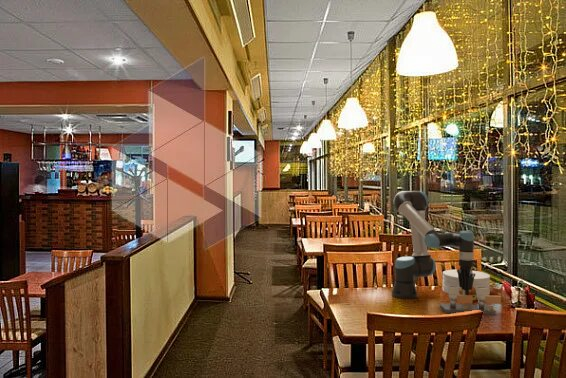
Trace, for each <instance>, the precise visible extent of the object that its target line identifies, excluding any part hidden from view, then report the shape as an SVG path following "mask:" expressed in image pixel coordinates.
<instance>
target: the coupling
mask: <svg viewBox="0 0 566 378" xmlns="http://www.w3.org/2000/svg"><path fill="white" fill-rule="evenodd" d="M448 293H449V294H448ZM448 293H447V294H448V300H450V299H451V300H456V304H473V302H474V301H473V296H472V295H457V294H458V287H457V286H448Z"/></svg>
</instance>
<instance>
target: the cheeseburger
mask: <svg viewBox="0 0 566 378" xmlns="http://www.w3.org/2000/svg"><path fill="white" fill-rule="evenodd" d="M458 293H460V295H462V288H461V289H460V290H459V292H458ZM469 295H472V296H473V302H475V301H477V293H476V290H475V288H474V287H473V286H472V290H469Z"/></svg>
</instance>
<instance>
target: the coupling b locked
mask: <svg viewBox="0 0 566 378" xmlns="http://www.w3.org/2000/svg"><path fill="white" fill-rule="evenodd" d="M476 293H477V300H481V301H484V305H488V304H491V305H492V304H493V305H501V304H502V296H501V295H487V288H485V287H476ZM477 300H476V301H477Z"/></svg>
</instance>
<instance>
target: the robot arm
mask: <svg viewBox="0 0 566 378" xmlns="http://www.w3.org/2000/svg"><path fill="white" fill-rule="evenodd" d="M393 205H394V209H395V210H396V212H398V213H399V214H400V215H402V216H403V217H404V218H406V219H407V221H408V222H409V223H410V232H411V242H412V251H413V252H412V255H411V256H410V255H409V256H408V255H407V256H400V257H397V258H396V259H395V260H394V262H395V263H394V285H393V287H392V289H391V296H392V297H395V298H398V299H405V300H406V299H416V298H417V297H418V291H417V288H416V284H415V280H416V279H417V278H423V277H424V278H427V277H429V276H432V275H434V273H435V271H436V268H437V263H436V261H435V260H434V258H433V257H431V253H430V252H428V251H429V250H428V248H430V249H431V248H432V249H437V248H445V247H456V248H458V258H459V259H458V266H459V269H456V270H457V273H458V278H459V286H460V287H461V288H462V295H469V290H472V286H473V281H474V277H475V274H473V272H472V271H473V269H472V268H473V267H474V256H475V255H474V249H475V247H474V244H475V235H474V232H472V231H470V230H469V231H468V230H461V231H459V232H458V233H455V232H449V231H448V232H444V233H438V231H437V230H436V229H435V228H434V227H433V226H432V225H431V224H430V223H429V222H428V221H427V220H426V219H425V217H424V216H425V215H424V214H425V213H426V208H428V205H429V197H428V195H427V194H426V193H425V192H424V191H421V190H402V191H399V192H397V194H395V195H394V198H393ZM415 278H416V279H415Z"/></svg>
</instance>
